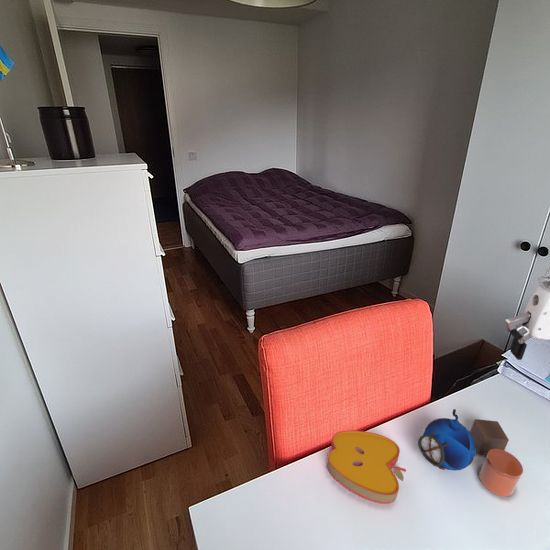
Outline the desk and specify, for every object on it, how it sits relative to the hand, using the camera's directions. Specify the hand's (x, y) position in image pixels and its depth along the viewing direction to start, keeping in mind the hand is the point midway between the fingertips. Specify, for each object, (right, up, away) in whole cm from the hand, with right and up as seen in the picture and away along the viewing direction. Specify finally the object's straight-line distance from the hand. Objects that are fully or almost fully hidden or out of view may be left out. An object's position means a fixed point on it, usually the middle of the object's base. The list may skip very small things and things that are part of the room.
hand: (540, 357), depth 71 cm
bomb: (-20, -23, +2) cm, 30 cm away
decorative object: (-44, -20, +1) cm, 49 cm away
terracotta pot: (-11, -25, -2) cm, 27 cm away
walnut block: (-8, -21, +6) cm, 23 cm away
